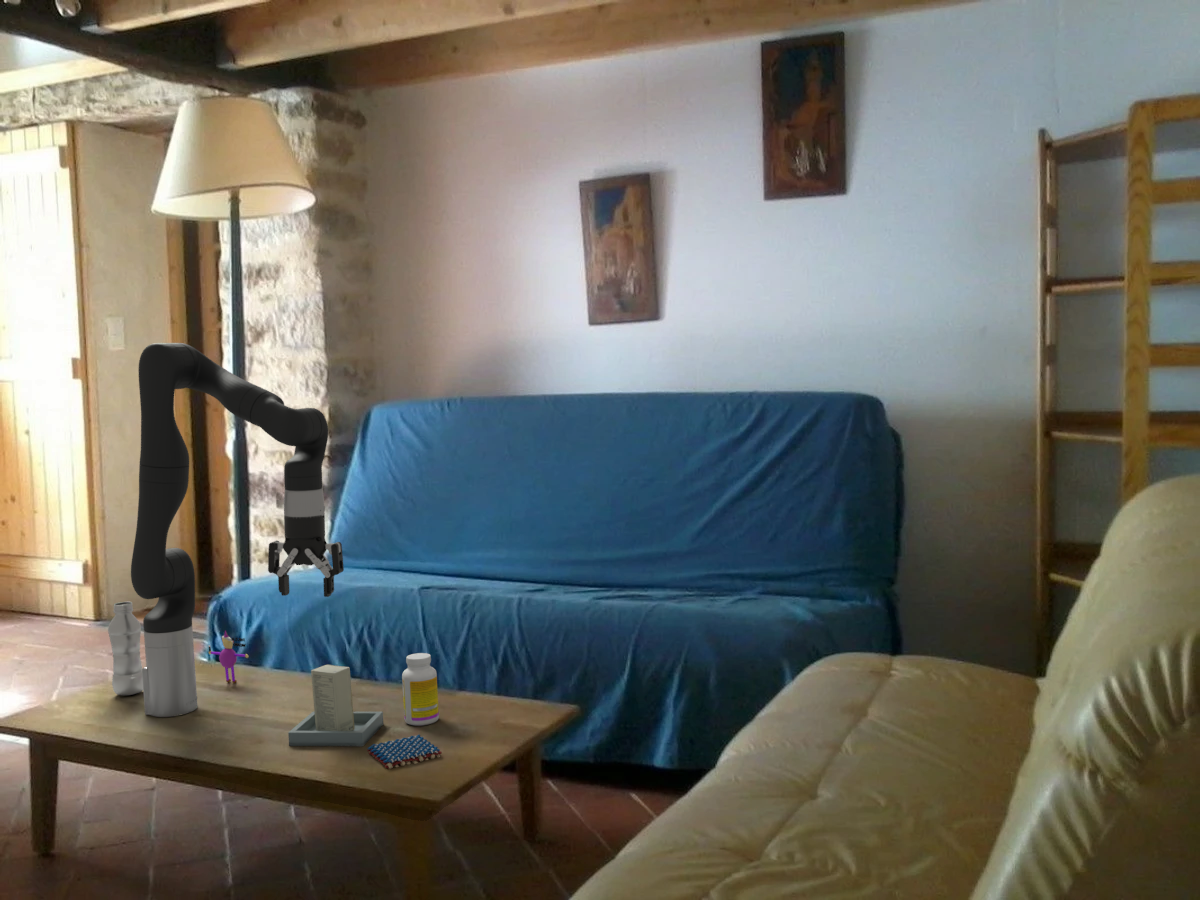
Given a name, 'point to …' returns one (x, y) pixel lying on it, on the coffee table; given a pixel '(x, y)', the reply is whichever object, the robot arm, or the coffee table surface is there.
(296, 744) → the tray
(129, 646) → the plastic bottle
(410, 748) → the woven mat
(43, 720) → the coffee table surface
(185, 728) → the coffee table surface
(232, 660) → the wizard figurine
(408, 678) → the supplement bottle
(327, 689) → the skincare box
